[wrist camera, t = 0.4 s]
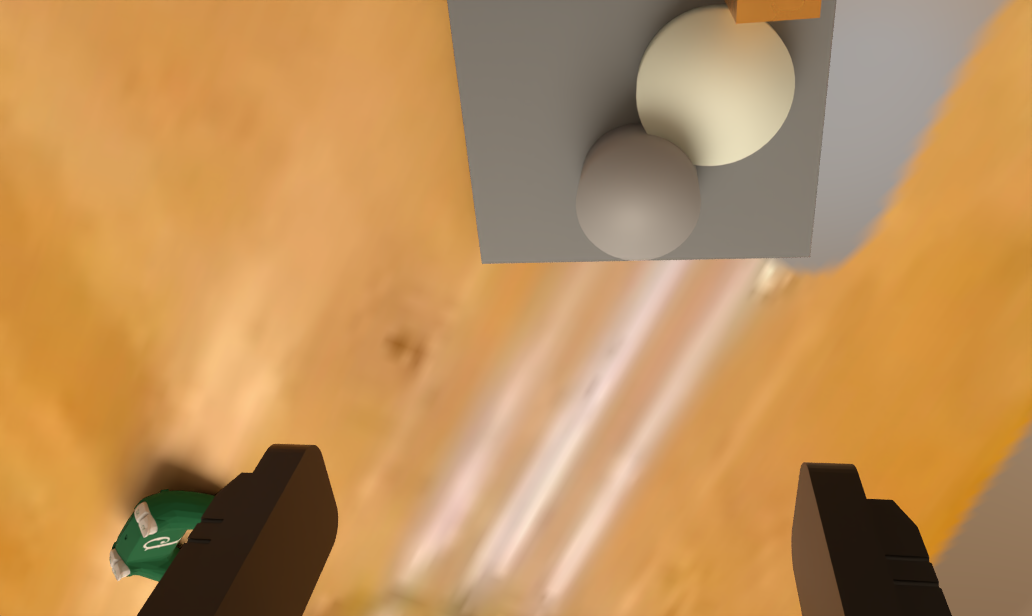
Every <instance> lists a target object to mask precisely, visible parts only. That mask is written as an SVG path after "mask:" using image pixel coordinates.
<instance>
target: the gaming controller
mask: <svg viewBox="0 0 1032 616" xmlns="http://www.w3.org/2000/svg"><path fill="white" fill-rule="evenodd" d="M214 497H215V496H214V495H210V494H205V493H198V492H191V491H169V489H164V490H161V491H160V493H157V494H154V495H151V496H148V497H146V498H144V499H142V500H141V501H140V502H139V503H138V504H137V506H136V507H135V508H134V509H135V511H134V512H133V514H132V515H131V517H130V518H129V519H128V521H127V522H126V524H125V526H124V528H123V529H122V531H121V533H120V534H119V536H118V539H117V541H116V542H115V543H114V544H113V547H112V550H111V552H110V564H111V567H112V571H113V573H114V575H115V577H116V579H117V581H119V580H120V579H121V578H122V577H128V576H132V575H140V576H143V577H146V578H149V579H152V580H155V581H158V582H159V581H160V580H161V578H162V577H163V575H164V573H165V572H166V570H167V569H168V567H169V566H170V564H171V563H172V561H173V560H174V558H175V557H176V555H177V554H178V552H179V551H180V549H179V548H177V547H176V546H177V544H178V543H179V541H180V540H181V538H182V537H183V535H184V534H185V532H186V531H187V529H194V528H195V526H196V525H197V523H200V522H201V517H202V515H203V514H204V512H205V511H206V509H207V508H208V506H209V505H210V503H211V502H212V500H213V499H214Z"/></svg>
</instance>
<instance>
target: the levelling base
mask: <svg viewBox="0 0 1032 616" xmlns="http://www.w3.org/2000/svg"><path fill="white" fill-rule="evenodd" d="M447 3H448V10H449V18H450V25H451V33H452V41H453V48H454V56H455V63H456V71H457V78H458V86H459V94H460V101H461V109H462V116H463V124H464V131H465V139H466V146H467V154H468V162H469V169H470V177H471V184H472V192H473V199H474V207H475V215H476V222H477V230H478V237H479V245H480V252H481V260H482V264H491V263H542V262H593V261H643V260H694V259H745V258H794V257H795V258H796V257H810V253H811V243H812V232H813V223H814V214H815V204H816V193H817V184H818V174H819V165H820V154H821V145H822V135H823V125H824V116H825V105H826V96H827V86H828V76H829V66H830V57H831V46H832V37H833V27H834V17H835V8H836V0H822V1H821V12H820V18H811V19H797V20H783V21H769V22H755V23H741V24H736V22H735V20H734V18H733V16H732V14H731V12H730V10H729V8H728V6H727V4H726V2H725V0H447Z"/></svg>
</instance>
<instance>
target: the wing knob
mask: <svg viewBox="0 0 1032 616" xmlns="http://www.w3.org/2000/svg"><path fill="white" fill-rule="evenodd" d="M821 1H822V0H725V2H726V4H727V6H728V8H729V10H730V12H731V14H732V16H733V18H734V20H735V22H736V24H741V23H755V22H769V21H783V20H797V19H811V18H820V12H821Z"/></svg>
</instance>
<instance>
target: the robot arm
mask: <svg viewBox="0 0 1032 616" xmlns="http://www.w3.org/2000/svg"><path fill="white" fill-rule="evenodd" d="M337 528H338V511H337V506H336V502H335V499H334V495H333V492H332V488H331V485H330V481H329V478H328V474H327V471H326V467H325V464H324V460H323V456H322V453H321V451H320V449H319V448H318V447H317V446H316V445H294V444H273V445H271V446H270V447H269V448H268V449H267V451H266V452H265V454H264V455H263V457H262V459H261V460H260V462H259V463H258V465H257V467H256V468H255V470H254V472H253V473H241V474H240V475H238V476H237V477H236V478H235V479H234V480H232V481H231V482H230V483H229V484H228V485H226V486H225V487H224V488H223V489H222V490H220V491H219V492H218V493H217V494H216V496H215V497H214V499H213V500H212V502H211V503H210V505H209V506H208V508H207V509H206V511H205V512H204V514H203V515H202V517H201V522H200V523H197V525H196V526H195V528H194V529H193V531H192V532H191V534H190V535H189V537H188V542H187V543H184V544H183V546H182V547H181V549H180V551H179V552H178V554H177V555H176V557H175V558H174V560H173V561H172V563H171V564H170V566H169V567H168V569H167V570H166V572H165V573H164V575H163V577H162V578H161V580H160V581H159V583H158V584H157V586H156V587H155V589H154V590H153V592H152V593H151V595H150V596H149V598H148V599H147V601H146V603H145V604H144V606H143V607H142V609H141V610H140V612H139V613H138V615H137V616H302V615H303V613H304V610H305V608H306V606H307V604H308V601H309V599H310V597H311V594H312V592H313V590H314V588H315V585H316V583H317V581H318V579H319V576H320V574H321V572H322V570H323V567H324V565H325V563H326V561H327V558H328V556H329V554H330V552H331V549H332V547H333V545H334V542H335V539H336V534H337ZM792 562H793V570H794V575H795V580H796V585H797V591H798V596H799V601H800V606H801V611H802V616H952V615H951V612H950V610H949V607H948V605H947V602H946V599H945V597H944V594H943V592H942V589H941V588H939V581H938V579H937V576H936V573H935V571H934V568H933V566H932V563H930V562H929V555H928V553H927V550H926V548H925V545H924V542H923V540H922V537H921V535H920V532H919V530H918V527H917V526H916V525H915V524H914V523H913V521H912V520H911V519H910V518H909V517H908V516H907V515H906V514H905V513H904V512H903V511H902V510H901V509H900V507H899V506H898V505H897V504H896V503H895V502H894V501H893V500H881V499H866V496H865V493H864V490H863V487H862V484H861V480H860V477H859V474H858V472H857V469H856V467H855V466H854V465H853V464H835V463H802V465H801V469H800V475H799V482H798V490H797V497H796V505H795V512H794V520H793V527H792Z"/></svg>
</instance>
